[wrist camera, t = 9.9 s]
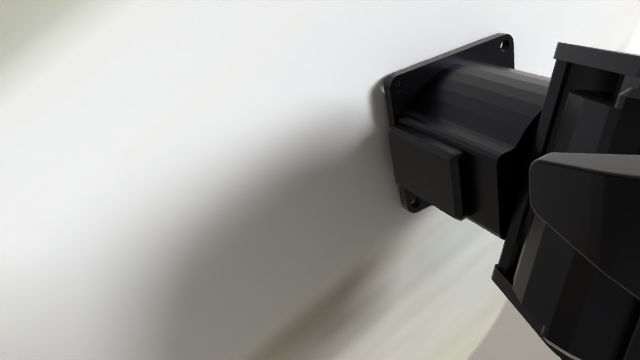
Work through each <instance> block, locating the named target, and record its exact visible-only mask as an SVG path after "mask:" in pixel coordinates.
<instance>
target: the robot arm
mask: <svg viewBox="0 0 640 360" xmlns="http://www.w3.org/2000/svg"><path fill="white" fill-rule="evenodd" d="M502 42H503V44H502V47H501V48H500V46H501V43H502ZM554 59H556V62H555V66H554V69H553V73H552V76H551V78H549V77H544V76H540V75H536V74H532V73H527V72H523V71H519V70H515V69H514V42H513V38H512V37H511V35H509V34H504V33H497V34H495V35H492V36H489V37H487V38H484V39H481V40H479V41H476V42H473V43H471V44H468V45H466V46H463V47H460V48H458V49H455V50H452V51H450V52H447V53H444V54H442V55H439V56H437V57H434V58H431V59H429V60H426V61H423V62H421V63H418V64H415V65H413V66H410V67H408V68H405V69H402V70H400V71H397V72H394V73H392V74H391V75H389V76H388V77H387V79H386V81H385V84H384V90H385V97H386V103H387V110H388V117H389V123H390V130H389V140H390V146H391V153H392V159H393V166H394V172H395V179H396V182H397V184H399V189H400V195H401V202H402V206H403V207H404V208H405V209H406V210H408V211H409V212H411V213H416V212H418V211H421V210H423V209H425V208H427V207H429V206H431V205H433V206H435V207H437V208H438V209H440V210H441V211H443V212H445V213H446V214H448V215H450V216H451V217H453V218H455V219H457V220H459V221H462V220H464V219H466V218H467V219H469V220H471V221H472V222H474V223H476V224H477V225H479V226H481V227H482V228H484V229H486V230H487V231H489V232H491V233H493V234H494V235H496V236H498V237H499V238H501V239H503V240H505V242H504V245H503V249H502V252H501V256H500V259H499V263H498V264H496V265H495V267H494V271H493V274H492V280H493V281H494V283H495V284H496V285H497V286H498V287H499V289H500V290H501V291H502V292H503V293H504V295H505V296H506V297H507V298H508V299H509V300H510V302H511V303H512V304H513V305H514V306H515V308H516V309H517V310H518V311H519V312H520V314H521V315H522V316H523V317H524V318H525V319H526V321H527V322H528V323H529V324H530V325H531V327H532V328H533V329H534V330H535V331H536V333H537V334H538V335H539V336H540V338H541V339H542V340H543V341H544V342H545V344H546V345H547V346H548V347H549V348H550V349H551V350H552V351H553V352H554V353H555V354H556V355H558V356H559V357H560V358H561V359H562V360H640V55H636V54H630V53H624V52H618V51H611V50H605V49H599V48H592V47H586V46H580V45H573V44H567V43H561V42H558V44H557V47H556V51H555V55H554ZM398 81H399V82H400V86H399V88H398V89H397V90H396V91H395V85H396V83H397V82H398ZM413 199H415V201H414V203H412V201H413Z"/></svg>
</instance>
